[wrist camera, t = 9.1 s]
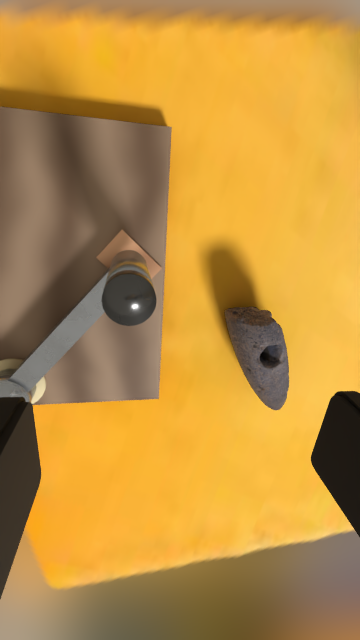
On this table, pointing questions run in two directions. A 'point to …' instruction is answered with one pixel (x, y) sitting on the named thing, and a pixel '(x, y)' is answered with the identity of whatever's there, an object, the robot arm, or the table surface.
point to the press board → (80, 245)
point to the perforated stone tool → (260, 353)
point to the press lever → (87, 320)
